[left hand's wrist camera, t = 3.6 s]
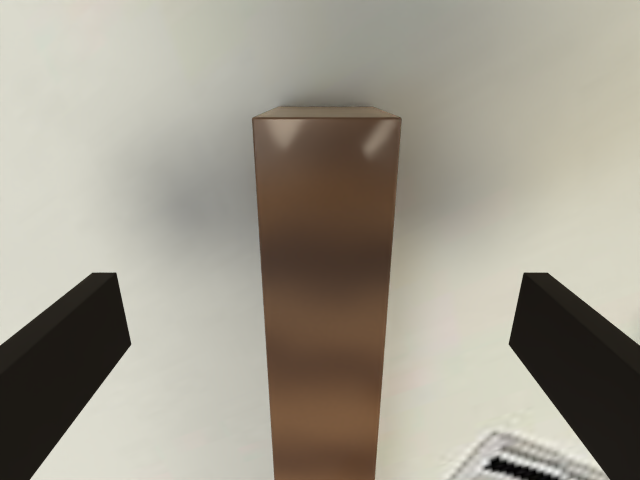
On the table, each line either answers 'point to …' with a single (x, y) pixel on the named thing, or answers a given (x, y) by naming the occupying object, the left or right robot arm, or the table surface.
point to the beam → (325, 281)
